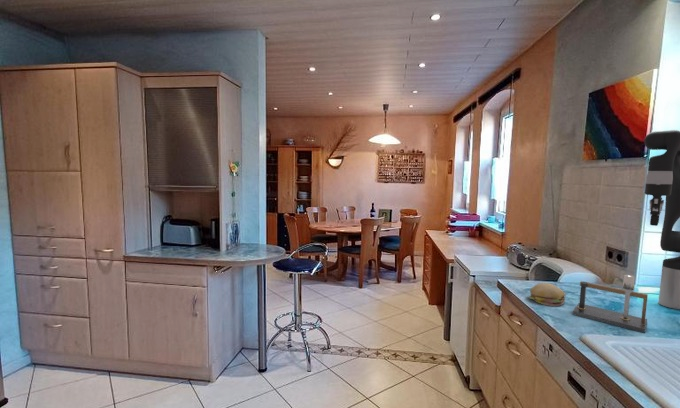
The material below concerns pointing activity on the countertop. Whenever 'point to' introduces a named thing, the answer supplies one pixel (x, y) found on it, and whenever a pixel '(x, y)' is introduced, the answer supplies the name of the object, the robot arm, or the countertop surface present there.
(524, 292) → the countertop surface
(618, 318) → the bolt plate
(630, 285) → the grey elongated rounded piece
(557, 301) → the burger
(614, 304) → the countertop surface
